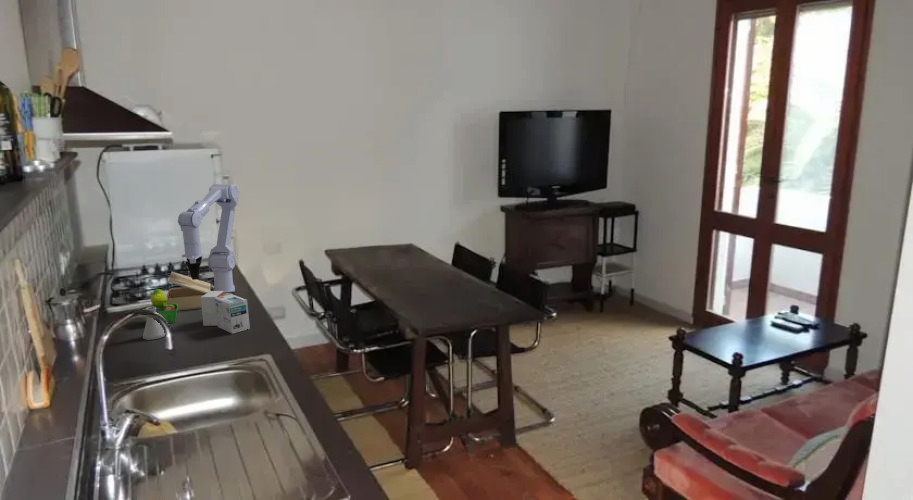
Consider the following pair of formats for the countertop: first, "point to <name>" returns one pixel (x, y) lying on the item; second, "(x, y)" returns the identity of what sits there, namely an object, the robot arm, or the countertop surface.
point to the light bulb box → (232, 313)
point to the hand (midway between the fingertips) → (195, 277)
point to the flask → (152, 328)
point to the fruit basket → (164, 306)
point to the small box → (210, 307)
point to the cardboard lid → (189, 282)
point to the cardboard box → (185, 298)
